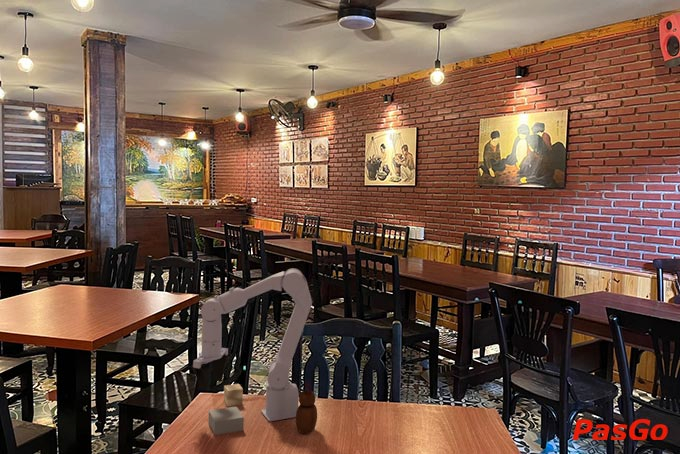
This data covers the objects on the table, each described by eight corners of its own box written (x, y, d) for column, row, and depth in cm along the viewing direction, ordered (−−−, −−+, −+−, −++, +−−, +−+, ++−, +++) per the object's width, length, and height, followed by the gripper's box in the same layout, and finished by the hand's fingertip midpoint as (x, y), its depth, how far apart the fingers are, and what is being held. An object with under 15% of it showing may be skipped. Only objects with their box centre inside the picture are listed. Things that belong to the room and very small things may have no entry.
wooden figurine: (313, 437, 140) (314, 383, 140) (292, 434, 141) (294, 381, 141) (318, 426, 147) (320, 375, 146) (299, 424, 148) (301, 373, 147)
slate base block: (236, 419, 150) (236, 406, 150) (243, 431, 143) (243, 417, 143) (208, 424, 147) (208, 410, 147) (214, 436, 140) (215, 421, 139)
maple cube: (238, 398, 165) (238, 383, 165) (242, 404, 161) (242, 388, 161) (223, 401, 163) (224, 385, 163) (227, 406, 159) (227, 390, 159)
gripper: (214, 332, 159) (213, 375, 160) (184, 344, 146) (183, 390, 146) (234, 335, 157) (233, 378, 157) (205, 347, 143) (204, 394, 144)
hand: (210, 384), depth 152 cm, fingers open, 7 cm apart
